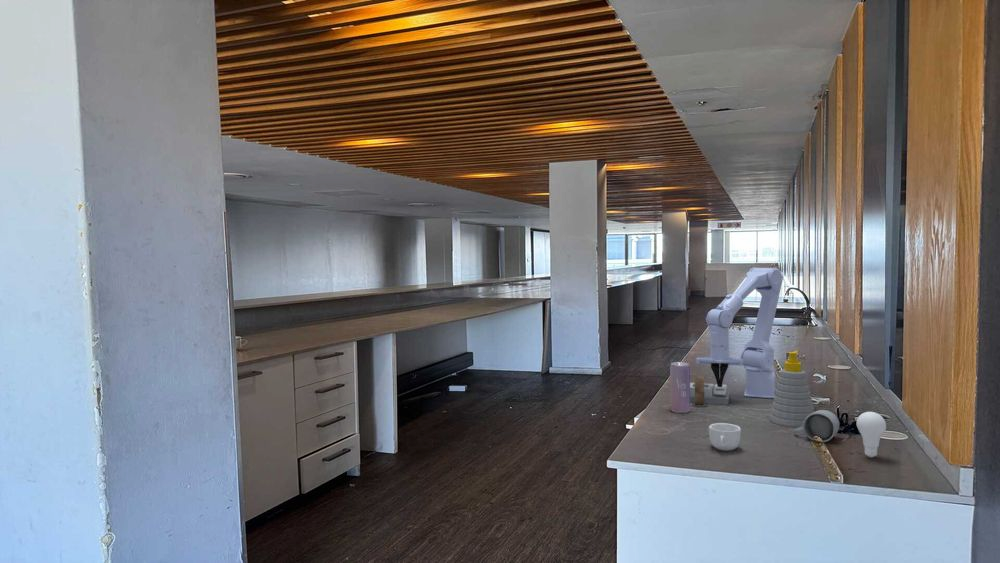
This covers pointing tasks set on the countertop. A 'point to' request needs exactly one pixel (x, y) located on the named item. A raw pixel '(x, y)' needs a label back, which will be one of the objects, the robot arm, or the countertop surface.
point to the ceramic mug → (819, 425)
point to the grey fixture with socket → (710, 395)
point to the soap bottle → (792, 395)
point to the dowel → (699, 390)
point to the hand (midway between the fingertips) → (719, 386)
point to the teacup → (724, 436)
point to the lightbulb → (871, 431)
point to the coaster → (699, 406)
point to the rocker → (720, 389)
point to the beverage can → (680, 387)
